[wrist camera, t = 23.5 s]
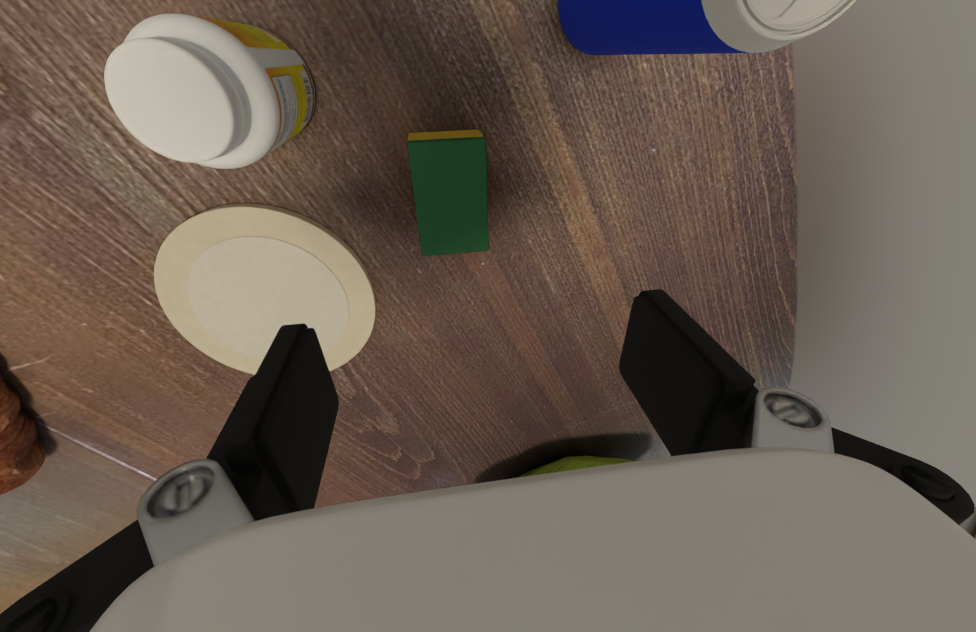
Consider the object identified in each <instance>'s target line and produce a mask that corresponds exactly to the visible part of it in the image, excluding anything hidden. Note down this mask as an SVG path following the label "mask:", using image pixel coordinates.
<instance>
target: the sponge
mask: <svg viewBox="0 0 976 632" xmlns="http://www.w3.org/2000/svg"><path fill="white" fill-rule="evenodd" d="M407 148H408V155H409V163H410V170H411V178H412V185H413V193H414V200H415V208H416V215H417V223H418V230H419V238H420V246H421V253H422V256H430V255H442V254H454V253H466V252H479V251H488V250H489V239H488V200H487V161H486V139H485V138H484V136H483V135H482V133H481V132H480V131H479V130H478V129H476V130H456V131H436V132H416V133H409V136H408V141H407Z"/></svg>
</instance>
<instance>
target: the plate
mask: <svg viewBox="0 0 976 632" xmlns="http://www.w3.org/2000/svg"><path fill="white" fill-rule="evenodd" d="M154 283H155V289H156V293H157V296H158V299H159V302H160V304H161V306H162V308H163V310H164V312H165V314H166V316H167V317H168V319H169V320H170V322H171V323H172V324H173V326H174V327H175V328H176V329H177V330H178V331H179V333H180V334H181V335H182V336H183V337H184V338H185V339H187V340H188V341H189V342H190V343H191V344H192V345H193V346H195V347H196V348H197V349H199V350H200V351H201V352H203V353H204V354H206V355H208V356H209V357H211V358H213V359H214V360H216V361H218V362H220V363H222V364H224V365H226V366H229V367H232V368H234V369H237V370H239V371H243V372H246V373H249V374H253V375H255V374H256V372H257V371H258V369H259V367H260V365H261V363H262V361H263V359H264V357H265V355H266V354H267V352H268V350H269V348H270V346H271V344H272V342H273V340H274V338H275V337H276V335H277V333H278V331H279V329H280V327H281V326H283V325H292V324H302V323H304V324H306V325H307V327H308V328H314V330H315V332H316V334H317V337H318V340H319V343H320V346H321V349H322V352H323V355H324V358H325V361H326V363H327V366H328V369H329V371H331V370H334V369H336V368H338V367H340V366H342V365H344V364H345V363H346V362H348V361H349V360H351V359H352V358H353V357H354V356H355V355H356V354H357V353H358V352H359V351H360V350H361V349H362V348H363V346H364V345H365V344H366V342H367V340H368V338H369V337H370V335H371V332H372V329H373V326H374V321H375V315H376V296H375V290H374V287H373V284H372V280H371V278H370V276H369V274H368V272H367V269H366V268H365V266H364V265H363V263H362V262H361V260H360V259H359V257H358V256H357V255H356V254H355V252H354V251H353V250H352V249H351V248H350V247H349V246H348V245H347V244H346V243H345V242H344V241H343V240H342V239H341V238H340V237H338V236H337V235H336V234H334V233H333V232H332V231H331V230H329V229H328V228H326V227H324V226H323V225H321V224H319V223H318V222H316V221H314V220H312V219H310V218H308V217H306V216H304V215H301V214H299V213H296V212H293V211H290V210H287V209H284V208H279V207H275V206H271V205H263V204H255V203H236V204H228V205H221V206H217V207H214V208H210V209H207V210H204V211H202V212H200V213H198V214H195V215H194V216H192V217H191V218H189V219H187V220H186V221H184V222H183V223H181V224H180V225H179V226H177V227H176V228H175V229H174V230H173V231H172V232H171V233H170V234H169V235H168V236H167V238H166V239H165V241H164V242H163V244H162V245H161V247H160V250H159V252H158V254H157V257H156V262H155V266H154Z"/></svg>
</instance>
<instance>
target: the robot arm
mask: <svg viewBox="0 0 976 632" xmlns="http://www.w3.org/2000/svg"><path fill="white" fill-rule="evenodd" d="M619 369H620V373H621V375H622V377H623V379H624V380H625V382H626V383H627V385H628V387H629V388H630V390H631V391H632V393H633V395H634V396H635V398H636V400H637V401H638V403H639V404H640V406H641V408H642V409H643V411H644V412H645V414H646V416H647V417H648V419H649V420H650V422H651V424H652V425H653V427H654V428H655V430H656V432H657V433H658V435H659V437H660V438H661V440H662V441H663V443H664V445H665V446H666V448H667V449H668V451H669V453H670V454H671V456H670V457H663V458H656V459H648V460H641V461H634V462H626V463H619V464H612V465H604V466H597V467H590V468H582V469H575V470H568V471H561V472H554V473H547V474H540V475H533V476H526V477H519V478H512V479H505V480H498V481H491V482H484V483H477V484H470V485H463V486H456V487H450V488H443V489H436V490H429V491H422V492H416V493H409V494H402V495H395V496H388V497H382V498H375V499H369V500H362V501H356V502H350V503H344V504H338V505H332V506H326V507H320V508H314V506H315V502H316V498H317V494H318V490H319V485H320V481H321V477H322V473H323V469H324V465H325V461H326V457H327V453H328V448H329V444H330V440H331V436H332V432H333V428H334V424H335V420H336V416H337V411H338V406H339V401H338V395H337V392H336V390H335V387H334V384H333V381H332V378H331V375H330V372H329V369H328V366H327V363H326V361H325V358H324V355H323V352H322V349H321V346H320V343H319V340H318V337H317V334H316V332H315V330H314V328H308V327H307V325H306V324H304V323H302V324H292V325H283V326H281V327H280V329H279V331H278V333H277V335H276V337H275V338H274V340H273V342H272V344H271V346H270V348H269V350H268V352H267V354H266V355H265V357H264V359H263V361H262V363H261V365H260V367H259V369H258V371H257V372H256V374H255V376H253V377H251V378H250V380H249V381H248V383H247V384H246V386H245V388H244V390H243V392H242V394H241V395H240V397H239V399H238V401H237V403H236V405H235V407H234V408H233V410H232V412H231V414H230V416H229V418H228V420H227V421H226V423H225V425H224V427H223V429H222V431H221V432H220V434H219V436H218V438H217V440H216V442H215V444H214V445H213V447H212V449H211V451H210V453H209V455H208V456H207V458H206V459H196V460H192V461H189V462H185V463H183V464H181V465H179V466H177V467H174V468H172V469H171V470H169V471H168V472H166V473H165V474H163V475H162V476H160V477H159V478H158V479H157V480H156V481H155V482H154V483H153V484H152V485H150V486H149V487H148V489H147V490H146V492H145V493H144V494H143V496H142V497H141V499H140V501H139V504H138V507H137V518H138V520H136V521H135V522H133V523H132V524H131V525H129V526H128V527H126V528H125V529H123V530H122V531H120V532H119V533H117V534H116V535H114V536H113V537H111V538H110V539H108V540H107V541H105V542H104V543H102V544H101V545H99V546H98V547H96V548H95V549H93V550H92V551H90V552H89V553H87V554H86V555H84V556H83V557H82V558H80V559H79V560H77V561H76V562H74V563H73V564H71V565H70V566H68V567H67V568H65V569H64V570H62V571H61V572H59V573H58V574H56V575H55V576H53V577H52V578H50V579H49V580H47V581H46V582H44V583H43V584H41V585H40V586H38V587H37V588H36V589H34V590H33V591H31V592H30V593H28V594H27V595H25V596H24V597H22V598H21V599H19V600H18V601H17V602H15V603H14V604H13V605H11V606H10V607H9V608H8V609H6V610H5V611H4V612H2V613H1V614H0V632H976V507H974V503H973V501H972V499H971V497H970V496H969V494H968V493H967V492H966V491H965V490H964V489H963V488H962V486H961V485H960V484H958V483H957V482H956V481H955V480H953V479H952V478H951V477H950V476H948V475H947V474H945V473H943V472H942V471H940V470H939V469H937V468H935V467H933V466H931V465H929V464H927V463H924V462H922V461H920V460H917V459H915V458H912V457H909V456H907V455H904V454H901V453H899V452H896V451H893V450H891V449H888V448H885V447H883V446H880V445H877V444H875V443H872V442H869V441H867V440H864V439H861V438H859V437H856V436H853V435H851V434H848V433H845V432H843V431H840V430H837V429H834V428H832V427H831V422H830V419H829V416H828V414H827V413H826V412H825V410H824V409H823V408H822V407H821V406H820V405H819V404H817V403H816V402H815V401H814V400H812V399H811V398H809V397H807V396H805V395H803V394H801V393H799V392H796V391H793V390H791V389H786V388H782V387H768V388H763V389H762V390H760V391H759V390H758V389H757V388H756V387H755V386H754V383H755V381H756V380H755V379H754V378H753V377H752V376H751V375H750V374H749V373H748V372H747V371H746V370H745V369H744V368H743V367H742V366H740V365H739V364H738V363H737V362H736V361H735V360H734V359H733V358H732V357H731V356H730V355H729V354H728V353H727V352H726V351H725V350H724V349H723V348H722V347H721V346H720V345H719V344H718V343H717V342H716V341H715V340H714V339H713V338H712V337H711V336H710V335H709V334H708V333H707V332H706V331H705V330H704V329H703V328H701V327H700V326H699V325H698V324H697V323H696V322H695V321H694V320H693V319H692V318H691V317H690V316H689V315H688V314H687V313H686V312H685V311H684V310H683V309H682V308H681V307H680V306H679V305H678V304H677V303H676V302H675V301H674V300H673V299H672V298H671V297H670V296H669V295H668V294H667V293H666V292H665V291H663V290H660V289H659V290H648V291H642V292H640V294H639V296H636V297H635V298H634V300H633V304H632V309H631V313H630V318H629V322H628V327H627V331H626V336H625V340H624V345H623V349H622V354H621V358H620V363H619Z"/></svg>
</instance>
